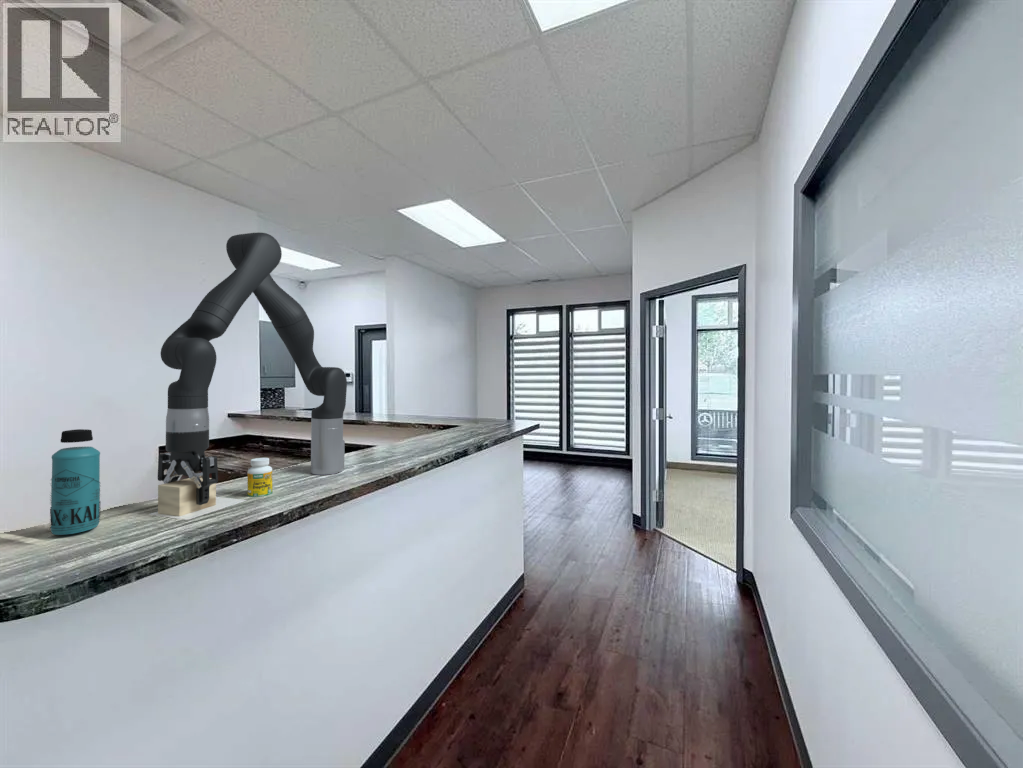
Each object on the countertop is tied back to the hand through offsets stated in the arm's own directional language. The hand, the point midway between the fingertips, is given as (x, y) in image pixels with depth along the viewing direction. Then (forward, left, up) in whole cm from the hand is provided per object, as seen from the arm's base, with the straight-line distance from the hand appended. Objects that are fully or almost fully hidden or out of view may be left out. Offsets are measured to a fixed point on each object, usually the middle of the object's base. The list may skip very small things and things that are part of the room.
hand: (187, 502), depth 91 cm
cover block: (0, 0, -1) cm, 1 cm away
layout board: (-2, +1, -2) cm, 3 cm away
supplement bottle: (-14, +5, -3) cm, 15 cm away
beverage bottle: (+16, -6, -3) cm, 17 cm away
